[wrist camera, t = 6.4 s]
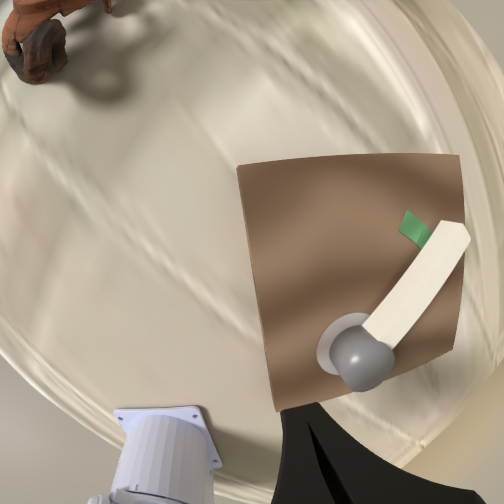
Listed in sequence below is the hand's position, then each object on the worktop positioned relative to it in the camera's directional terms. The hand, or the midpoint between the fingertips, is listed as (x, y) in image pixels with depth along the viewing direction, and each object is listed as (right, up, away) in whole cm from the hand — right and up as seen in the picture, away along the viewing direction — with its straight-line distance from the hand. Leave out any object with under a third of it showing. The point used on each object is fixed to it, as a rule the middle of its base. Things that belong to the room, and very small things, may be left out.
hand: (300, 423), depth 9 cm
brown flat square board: (+7, +4, +11) cm, 14 cm away
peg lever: (+8, +3, +9) cm, 13 cm away
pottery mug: (-17, +23, +5) cm, 29 cm away
